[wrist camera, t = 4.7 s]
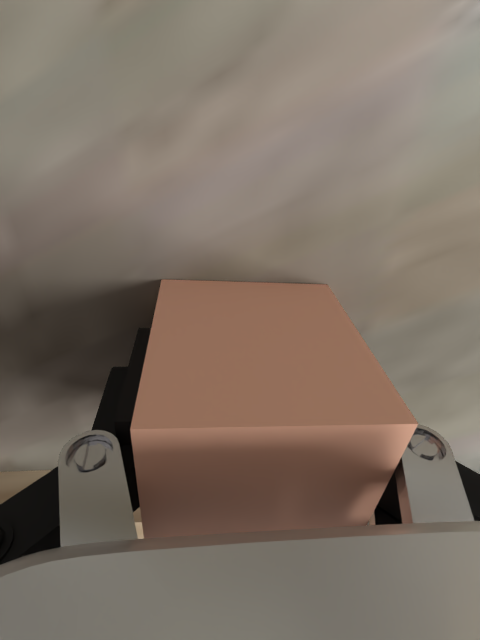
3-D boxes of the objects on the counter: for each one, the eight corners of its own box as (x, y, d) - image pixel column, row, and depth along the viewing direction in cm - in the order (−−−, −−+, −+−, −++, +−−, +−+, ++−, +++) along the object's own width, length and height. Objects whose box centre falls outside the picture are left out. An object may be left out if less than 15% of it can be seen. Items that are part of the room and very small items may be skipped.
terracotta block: (161, 279, 11) (130, 429, 6) (327, 284, 12) (418, 423, 7) (166, 402, 14) (147, 571, 9) (299, 401, 15) (349, 558, 10)
